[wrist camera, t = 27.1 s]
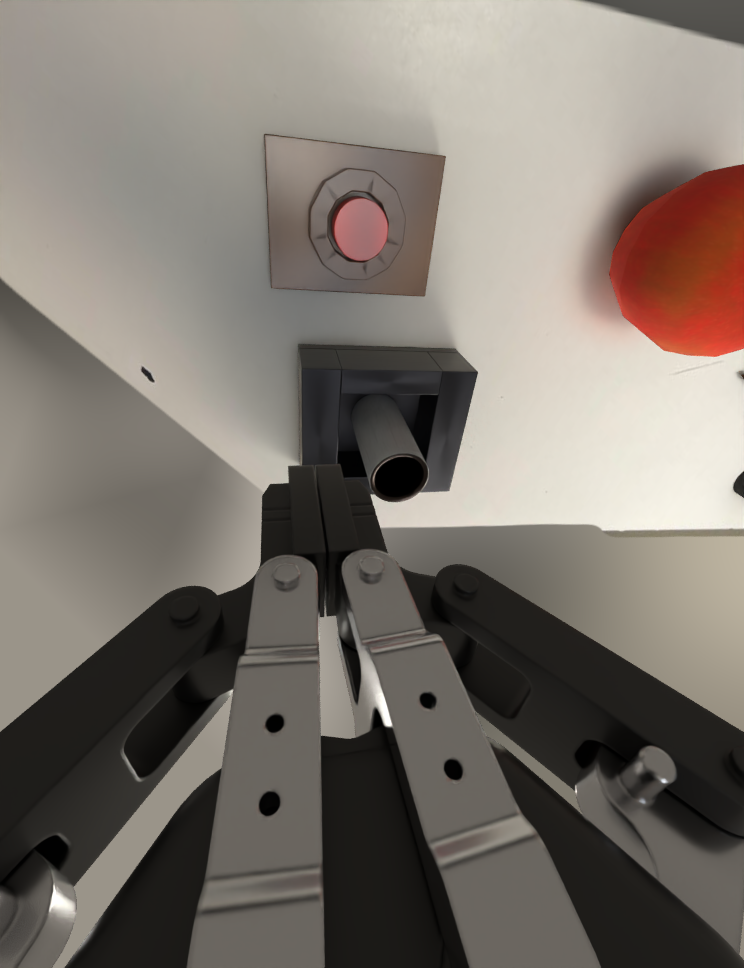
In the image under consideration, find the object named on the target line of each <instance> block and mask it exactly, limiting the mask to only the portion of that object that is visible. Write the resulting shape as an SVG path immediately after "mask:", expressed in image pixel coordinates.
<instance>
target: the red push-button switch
mask: <svg viewBox="0 0 744 968" xmlns="http://www.w3.org/2000/svg"><path fill="white" fill-rule="evenodd" d="M264 138H265V161H266V184H267V206H268V229H269V251H270V274H271V288H277V289H296V290H314V291H333V292H351V293H370V294H388V295H407V296H425V291H426V284H427V278H428V271H429V265H430V258H431V251H432V245H433V238H434V231H435V225H436V218H437V211H438V205H439V198H440V191H441V185H442V178H443V171H444V165H445V158H446V156H441V155H433V154H425V153H417V152H409V151H400V150H392V149H384V148H376V147H368V146H359V145H351V144H343V143H335V142H327V141H318V140H310V139H302V138H294V137H285V136H277V135H269V134H265V135H264ZM354 196H361V197H365V198H367V199H370V200H372V201H374V202H375V203H377V204H378V205H379V206H380V207H381V209H382V210H383V212H384V213H385V216H386V219H387V223H388V236H387V240H386V243H385V245H384V247H383V249H382V250H381V251H380V252H379V254H377V255H376V256H375V257H373V258H372V259H369V260H366V261H356V260H352V259H350V258H349V257H347V256H346V255H344V254H343V253H342V251H341V250H340V249H339V247H338V246H337V245H336V243H335V241H334V238H333V235H332V230H331V224H332V218H333V215H334V212H335V210H336V209H337V207H338V206H339V205H340V203H342V202H343V201H344V200H346V199H348V198H350V197H354Z"/></svg>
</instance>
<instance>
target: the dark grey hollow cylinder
mask: <svg viewBox="0 0 744 968" xmlns="http://www.w3.org/2000/svg"><path fill="white" fill-rule="evenodd" d="M351 421H352V426H353V429H354V433H355V436H356V439H357V443H358V446H359V450H360V453H361V456H362V460H363V463H364V467H365V470H366V474H367V477H368V480H369V484H370V487H371V489H372V491H373V493H374V494H375V495H376V496H377V497H379V498H380V499H382V500H384V501H388V502H401V501H405V500H408V499H410V498H412V497H414V496H416V495H417V494H418V493H419V492H420V491H421V490H422V489H423V488H424V487H425V485H426V483H427V481H428V476H429V470H428V466H427V464H426V462H425V460H424V458H423V456H422V454H421V452H420V450H419V448H418V446H417V444H416V442H415V440H414V438H413V436H412V434H411V432H410V430H409V428H408V426H407V424H406V422H405V420H404V418H403V416H402V414H401V412H400V410H399V408H398V406H397V405H396V403H395V402H394V400H393V399H391V398H390V397H389V396H387V395H384V394H370V395H367V396H365V397H363V398H362V399H360V400H359V401H358V402H357V403H356V404H355V406H354V408H353V410H352V414H351Z"/></svg>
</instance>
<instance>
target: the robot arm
mask: <svg viewBox="0 0 744 968" xmlns="http://www.w3.org/2000/svg"><path fill="white" fill-rule="evenodd" d="M288 474H289V483H284V484H270V485H269V487H268V488H267V490H266V491H265V493H264V494H263V496H262V533H261V563H260V567H259V569H258V571H257V573H256V574H255V576H254V577H253V578H252V579H251V580H250V581H249V582H247V583H246V584H245V585H243V586H241V587H239V588H237V589H235V590H232V591H229V592H226V593H223V594H221V595H216V594H215V593H214V592H213V591H212V590H210V589H208V588H205V587H201V586H187V587H182V588H179V589H176V590H173V591H171V592H169V593H167V594H166V595H164V596H163V597H162V598H160V599H159V600H158V601H157V602H155V603H154V604H153V605H152V606H151V607H149V608H148V609H147V610H146V611H145V612H143V613H142V614H141V615H140V616H139V617H138V618H136V619H135V620H134V621H133V622H131V623H130V624H129V625H128V626H127V627H126V628H124V629H123V630H122V631H121V632H119V633H118V634H117V635H116V636H115V637H113V638H112V639H111V640H110V641H109V642H107V643H106V644H105V645H104V646H103V647H101V648H100V649H99V650H98V651H97V652H95V653H94V654H93V655H92V656H91V657H90V658H88V659H87V660H86V661H85V662H84V663H82V664H81V665H80V666H79V667H78V668H76V669H75V670H74V671H73V672H72V673H70V674H69V675H68V676H67V677H66V678H64V679H63V680H62V681H61V682H60V683H58V684H57V685H56V686H55V687H54V688H53V689H51V690H50V691H49V692H48V693H46V694H45V695H44V696H43V697H42V698H40V699H39V700H38V701H37V702H36V703H34V704H33V705H32V706H31V707H30V708H29V709H27V710H26V711H25V712H24V713H22V714H21V715H20V716H19V717H18V718H16V719H15V720H14V721H13V722H12V723H10V724H9V725H8V726H7V727H6V728H5V729H3V730H2V731H1V732H0V968H52V967H53V965H54V964H55V962H56V961H57V959H58V957H59V956H60V954H61V953H62V951H63V949H64V947H65V945H66V943H67V941H68V939H69V936H70V934H71V931H72V929H73V925H74V921H75V917H76V909H77V899H76V894H75V890H74V888H73V887H74V886H75V884H76V883H77V882H78V881H79V880H80V878H81V877H82V876H83V875H84V874H85V872H86V871H87V870H88V868H90V866H91V865H92V864H93V863H94V861H95V860H96V859H97V858H98V857H99V855H100V854H101V853H102V851H103V850H104V849H105V848H106V847H107V846H108V844H109V843H110V842H111V841H112V840H113V838H114V837H115V836H116V835H117V833H118V832H119V831H120V830H121V829H122V827H123V826H124V825H125V824H126V822H127V821H128V820H129V819H130V818H131V816H132V815H133V814H134V812H136V810H137V809H138V808H139V807H140V805H141V804H142V803H143V802H144V800H145V799H146V798H147V797H148V796H149V794H150V793H151V792H152V791H153V790H154V788H155V787H156V786H157V785H158V783H159V782H160V781H161V780H162V779H163V777H164V776H165V775H166V774H167V773H168V771H169V770H170V769H171V767H172V766H173V765H174V764H175V762H177V760H178V759H179V758H180V756H181V755H182V754H183V753H184V752H185V750H186V749H187V748H188V747H189V746H190V745H191V743H192V742H193V741H194V740H195V738H196V737H197V736H198V734H200V732H201V731H202V730H203V729H204V727H205V726H206V725H207V724H208V722H209V721H210V720H211V719H212V718H213V717H214V715H215V714H216V713H217V712H218V710H219V709H220V708H221V707H222V706H223V704H224V703H225V702H226V701H227V699H228V698H229V696H230V695H231V693H232V691H233V689H234V691H233V697H232V703H231V710H230V717H229V723H228V730H227V737H226V743H225V751H224V757H223V764H222V768H221V769H220V770H218V771H217V772H216V773H214V774H213V775H211V776H210V777H209V778H207V779H206V780H205V781H204V782H203V783H202V784H201V785H200V786H199V787H197V789H196V790H194V791H193V792H192V793H191V795H190V796H189V797H188V798H187V799H186V801H184V802H183V804H182V805H181V806H180V807H179V809H178V810H177V811H176V813H175V814H174V815H173V817H172V818H171V819H170V821H169V822H168V824H167V825H166V826H165V828H164V829H163V831H162V832H161V833H160V835H159V836H158V838H157V839H156V840H155V842H154V843H153V845H152V846H151V847H150V849H149V850H148V852H147V853H146V855H145V856H144V857H143V859H142V860H141V861H140V863H139V864H138V866H137V867H136V869H135V870H134V871H133V873H132V874H131V875H130V877H129V878H128V880H127V881H126V882H125V884H124V885H123V887H122V888H121V889H120V891H119V892H118V894H117V895H116V896H115V898H114V899H113V901H112V902H111V903H110V905H109V906H108V908H107V909H106V911H105V912H104V913H103V915H102V916H101V917H100V919H99V920H98V922H97V923H96V924H95V926H94V927H93V929H92V930H91V932H90V933H89V934H88V936H87V937H86V938H85V940H84V941H83V943H82V944H81V945H80V947H79V948H78V950H77V951H76V953H75V954H74V955H73V957H72V958H71V960H70V961H69V962H68V964H67V965H66V966H65V968H744V960H743V959H742V957H741V956H740V955H739V952H740V942H741V932H742V923H743V912H744V732H743V731H741V730H739V729H738V728H736V727H734V726H733V725H731V724H729V723H728V722H726V721H725V720H723V719H721V718H720V717H718V716H716V715H715V714H713V713H712V712H710V711H708V710H707V709H705V708H703V707H702V706H700V705H699V704H697V703H695V702H694V701H692V700H690V699H689V698H687V697H685V696H684V695H682V694H681V693H679V692H677V691H676V690H674V689H672V688H671V687H669V686H668V685H666V684H664V683H662V682H661V681H659V680H658V679H656V678H654V677H653V676H651V675H650V674H648V673H646V672H644V671H643V670H641V669H640V668H638V667H636V666H635V665H633V664H632V663H630V662H628V661H626V660H625V659H623V658H622V657H620V656H619V655H617V654H615V653H614V652H612V651H610V650H609V649H607V648H605V647H604V646H602V645H601V644H599V643H597V642H596V641H594V640H592V639H591V638H589V637H587V636H586V635H584V634H583V633H581V632H579V631H578V630H576V629H574V628H573V627H571V626H569V625H568V624H566V623H565V622H563V621H561V620H560V619H558V618H556V617H555V616H553V615H552V614H550V613H548V612H547V611H545V610H543V609H542V608H540V607H538V606H537V605H535V604H534V603H532V602H530V601H529V600H527V599H525V598H524V597H522V596H521V595H519V594H517V593H515V592H514V591H512V590H511V589H509V588H507V587H506V586H504V585H503V584H501V583H499V582H498V581H496V580H494V579H493V578H491V577H489V576H488V575H486V574H485V573H483V572H481V571H480V570H478V569H476V568H473V567H471V566H467V565H461V564H459V565H458V564H455V565H450V566H447V567H445V568H443V569H442V570H440V571H439V572H438V574H437V576H436V577H435V576H429V575H424V574H418V573H413V572H410V571H408V570H405V569H403V568H402V567H400V566H399V565H398V563H397V561H396V560H395V559H394V558H393V557H392V556H391V555H389V554H388V552H387V549H386V546H385V543H384V539H383V536H382V533H381V529H380V526H379V522H378V519H377V516H376V512H375V509H374V506H373V502H372V499H371V496H370V492H369V490H368V489H367V488H366V487H365V486H364V485H363V484H362V483H361V482H360V481H359V480H352V481H344V477H343V473H342V468H341V465H340V464H328V465H315V471H314V466H313V465H302V466H288ZM324 606H326V614H327V616H336V618H337V624H338V639H337V641H338V648H339V652H340V656H341V661H342V665H343V670H344V674H345V678H346V683H347V687H348V692H349V696H350V701H351V705H352V710H353V715H354V722H355V735H356V738H352V739H344V738H336V737H327V736H321V733H320V731H321V730H320V729H321V728H320V664H319V636H320V635H319V634H320V617H324ZM475 711H476V712H477V713H479V714H480V715H481V716H482V717H484V718H485V719H486V720H488V721H489V722H490V723H491V724H492V725H494V726H495V727H496V728H497V729H499V730H500V731H501V732H502V733H504V734H505V735H506V736H508V737H509V738H510V739H511V740H513V741H514V742H515V743H516V744H517V745H519V746H520V747H521V748H522V749H524V750H525V751H526V752H527V753H529V754H530V755H531V756H532V757H534V758H535V759H536V760H537V761H538V762H540V763H541V764H542V765H544V766H545V767H546V768H547V769H548V770H550V771H551V772H552V773H553V774H555V775H556V776H557V777H559V778H560V779H561V780H562V781H564V782H565V783H566V784H567V785H568V786H570V787H571V788H572V789H573V790H575V791H576V798H577V801H578V804H579V807H580V810H581V812H582V814H581V813H580V812H578V811H577V810H576V809H575V808H574V807H573V806H572V805H571V804H569V803H568V802H567V801H566V800H565V799H564V798H563V797H561V796H560V795H559V794H558V793H557V792H556V791H554V790H553V789H552V788H551V787H550V786H549V785H547V784H546V783H545V782H544V781H543V780H542V779H541V778H539V777H538V776H537V775H536V774H535V773H534V772H533V771H531V770H530V769H529V768H528V767H527V766H526V765H524V764H523V763H522V762H521V761H520V760H519V759H517V758H516V757H515V756H514V755H513V754H512V753H510V752H509V751H508V750H507V749H506V748H504V747H503V746H502V745H500V744H499V743H497V742H496V741H494V740H493V739H491V738H489V737H487V736H486V734H485V732H484V730H483V728H482V725H481V723H480V721H479V719H478V716H477V714H476V712H475Z"/></svg>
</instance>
